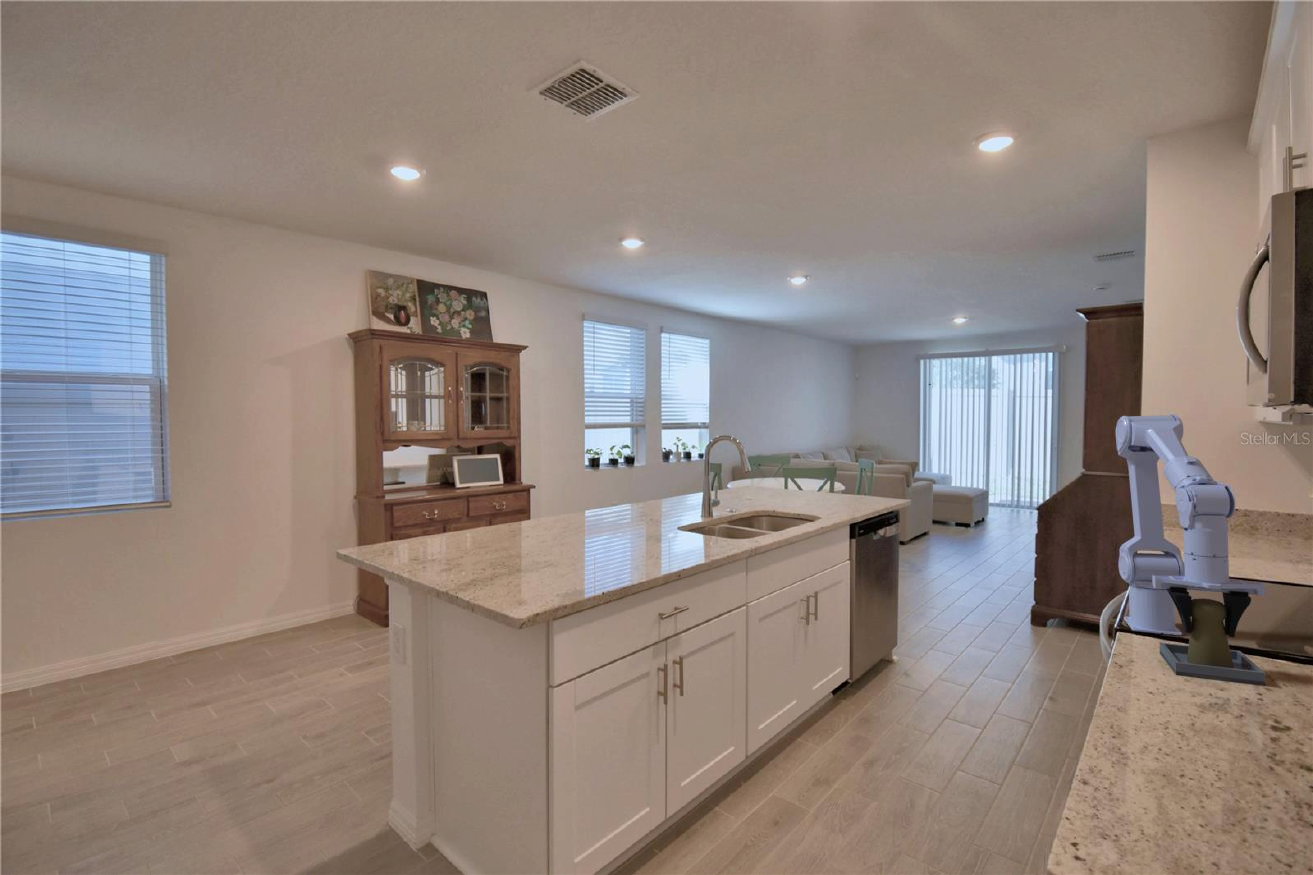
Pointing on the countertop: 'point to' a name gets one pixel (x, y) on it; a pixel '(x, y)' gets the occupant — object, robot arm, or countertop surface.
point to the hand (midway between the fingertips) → (1208, 633)
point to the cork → (1208, 634)
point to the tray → (1240, 673)
